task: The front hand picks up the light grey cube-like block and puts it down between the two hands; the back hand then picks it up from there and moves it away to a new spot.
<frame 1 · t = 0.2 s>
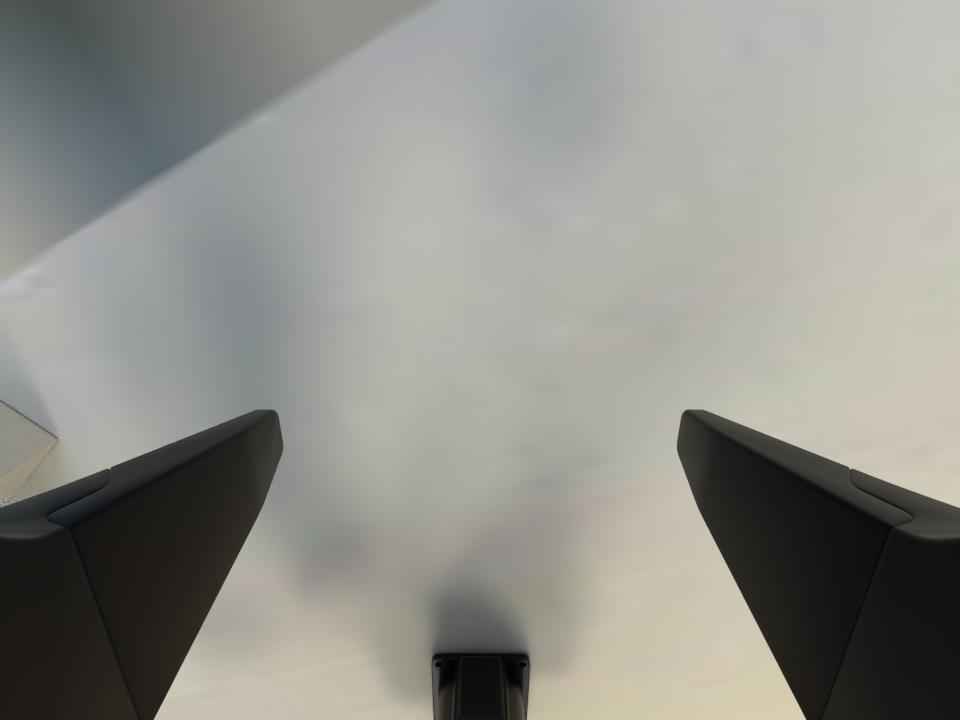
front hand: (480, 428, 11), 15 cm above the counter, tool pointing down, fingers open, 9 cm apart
light grey cube-like block: (0, 439, 28), on the counter
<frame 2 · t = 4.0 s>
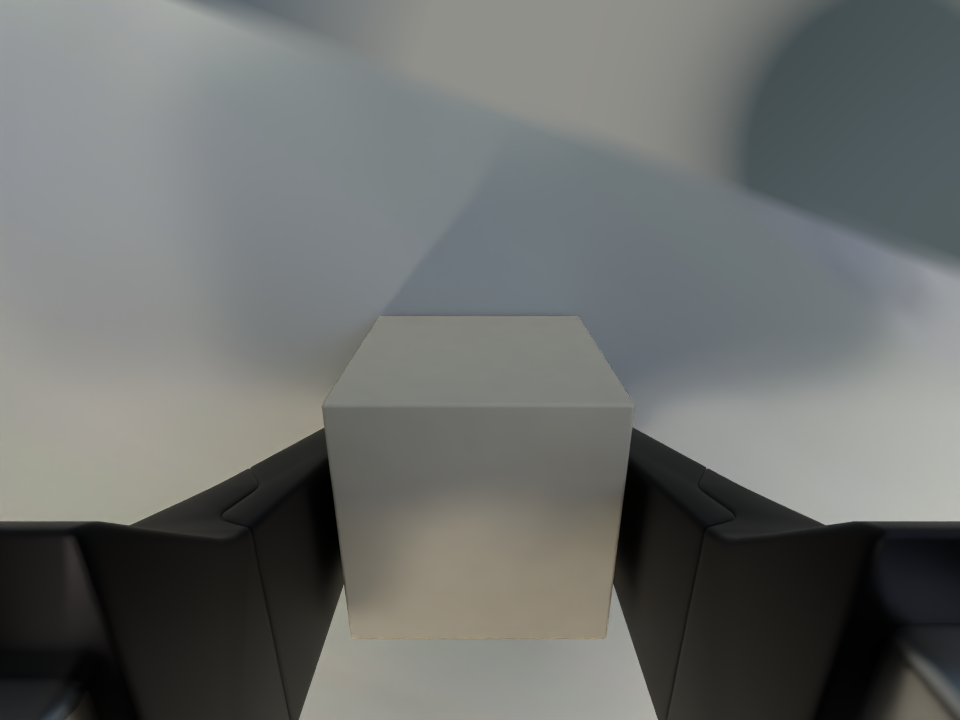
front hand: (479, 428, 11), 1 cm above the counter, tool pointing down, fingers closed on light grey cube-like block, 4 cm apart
light grey cube-like block: (478, 407, 12), on the counter, touching front hand
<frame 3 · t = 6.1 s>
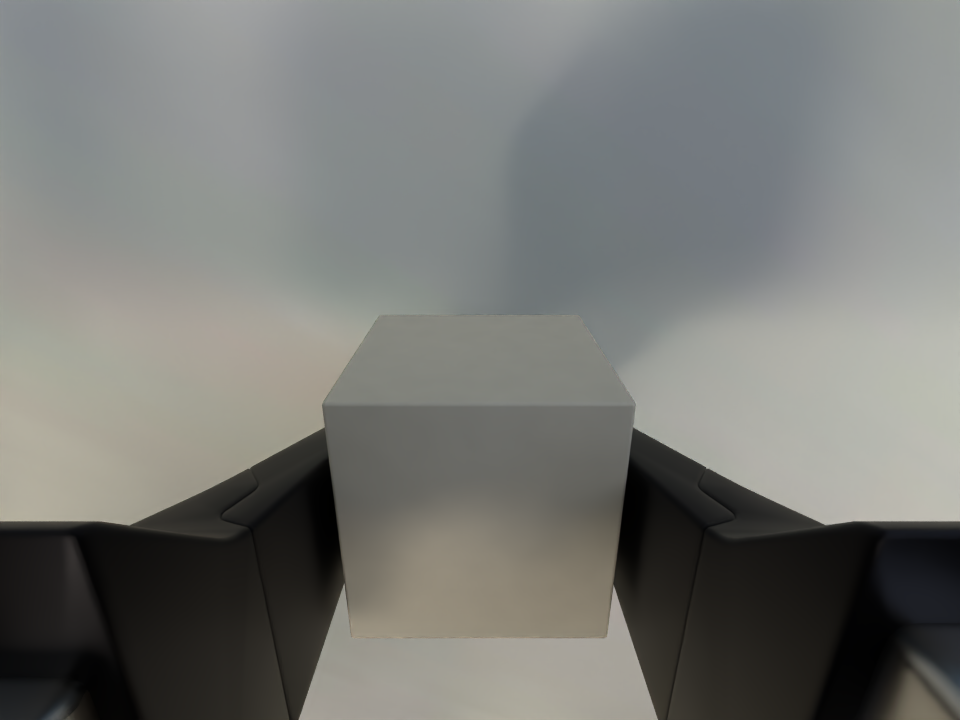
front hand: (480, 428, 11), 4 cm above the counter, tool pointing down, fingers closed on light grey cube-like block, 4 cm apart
light grey cube-like block: (479, 406, 12), point 3 cm above the counter, touching front hand
when the front hand's fingers open (2 cm above the counter, at t = 8.5 s): light grey cube-like block stays where it is, on the counter.
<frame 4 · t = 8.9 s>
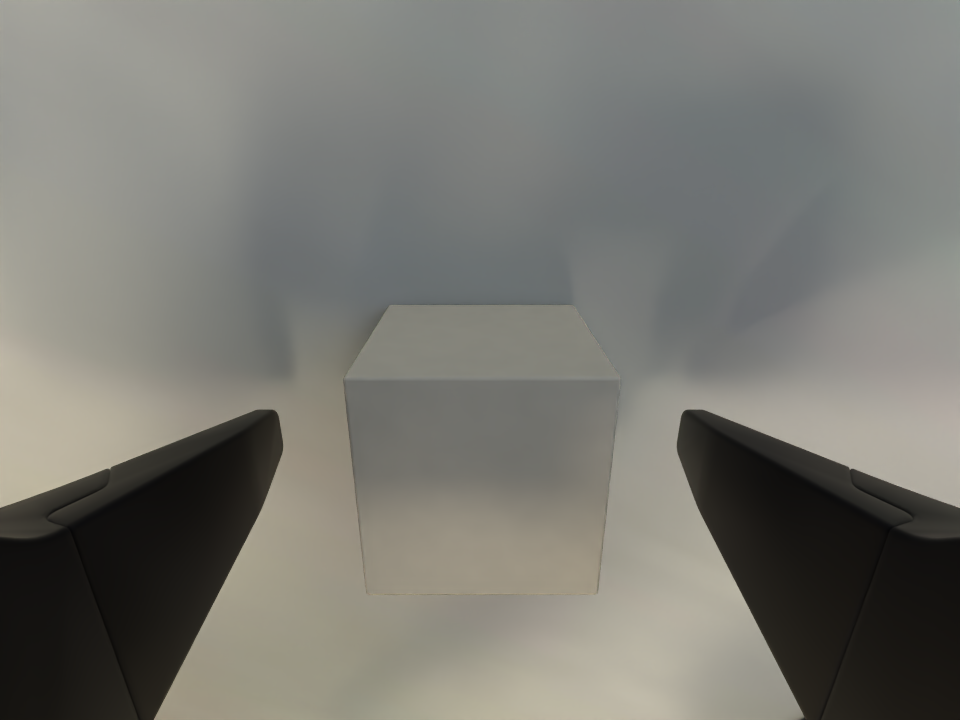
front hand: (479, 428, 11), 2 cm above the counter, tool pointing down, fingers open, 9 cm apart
light grey cube-like block: (481, 390, 13), on the counter
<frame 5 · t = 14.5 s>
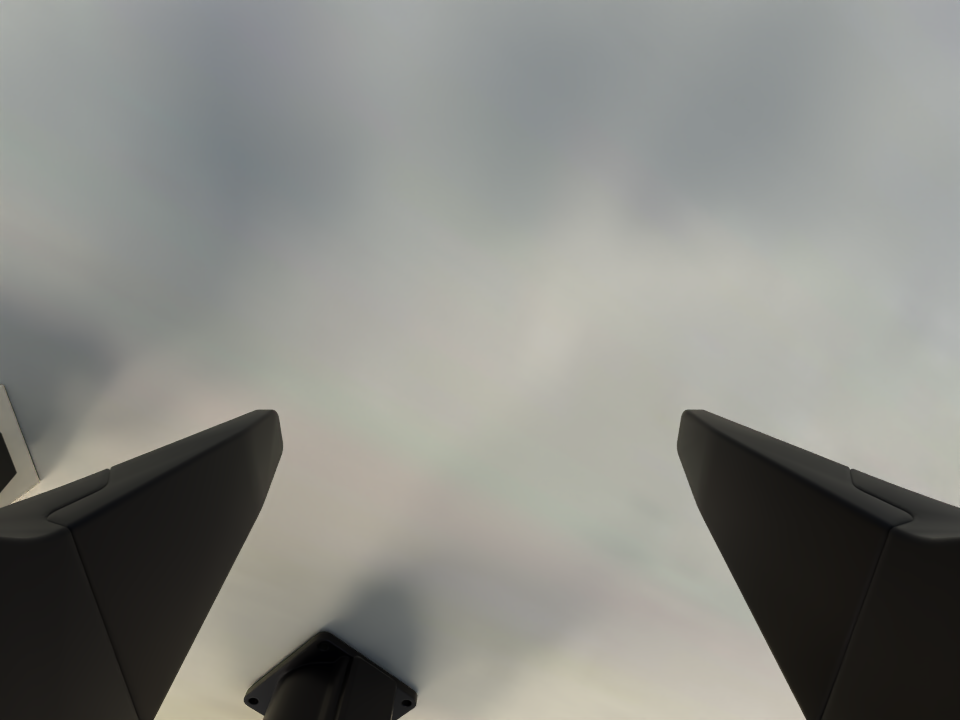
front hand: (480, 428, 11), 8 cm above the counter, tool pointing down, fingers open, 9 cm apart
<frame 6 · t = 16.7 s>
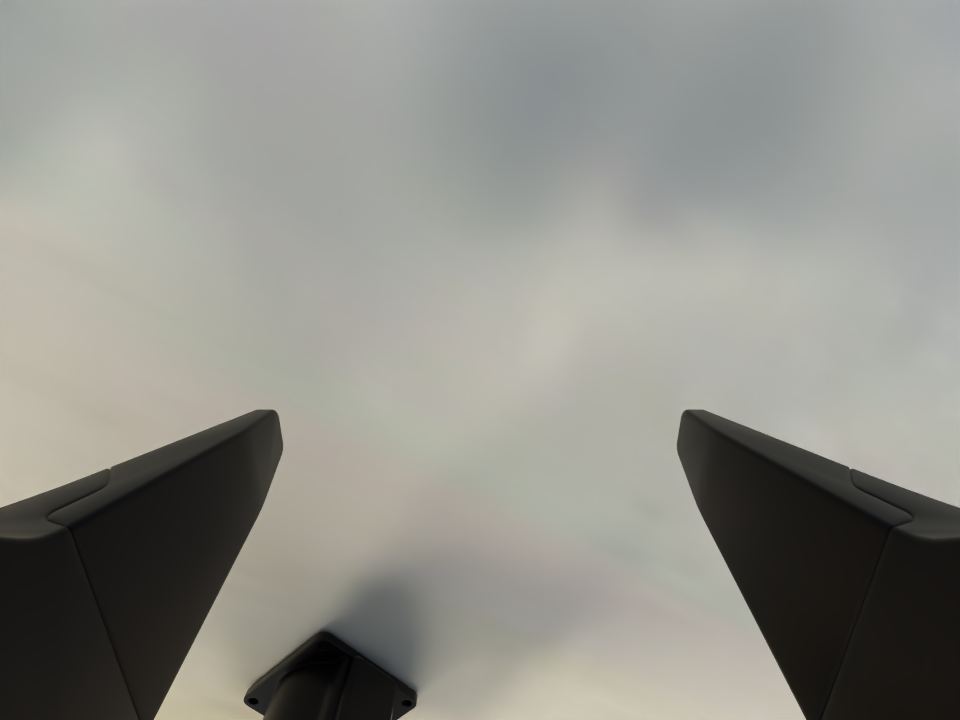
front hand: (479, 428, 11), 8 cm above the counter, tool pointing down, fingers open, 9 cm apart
when the back hand's fingers open (2 cm above the counter, at t = 19.4 s): light grey cube-like block stays where it is, on the counter.
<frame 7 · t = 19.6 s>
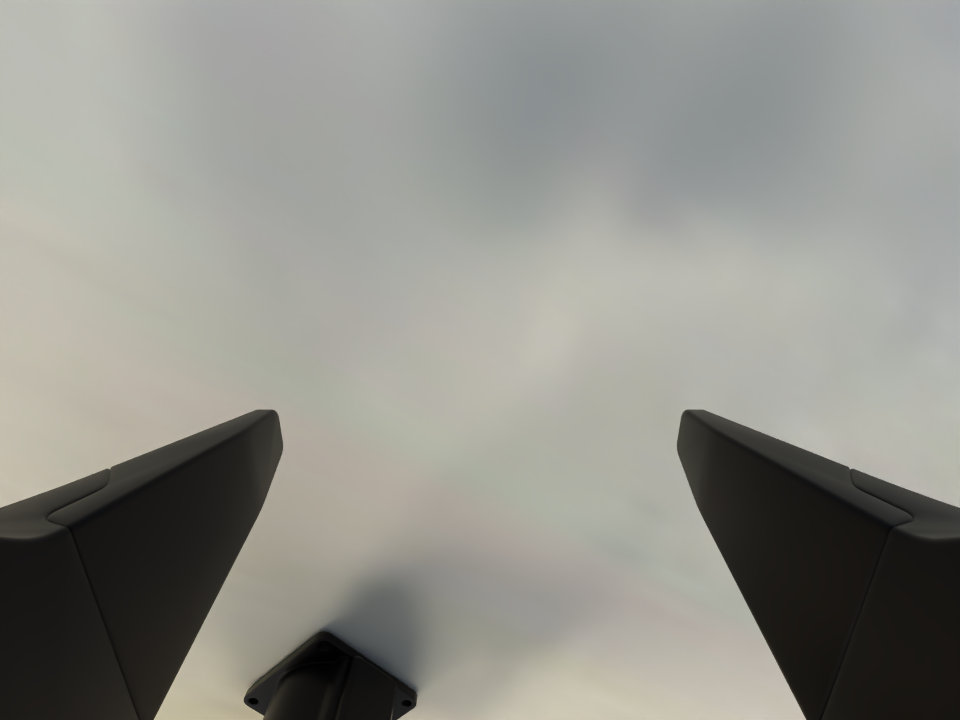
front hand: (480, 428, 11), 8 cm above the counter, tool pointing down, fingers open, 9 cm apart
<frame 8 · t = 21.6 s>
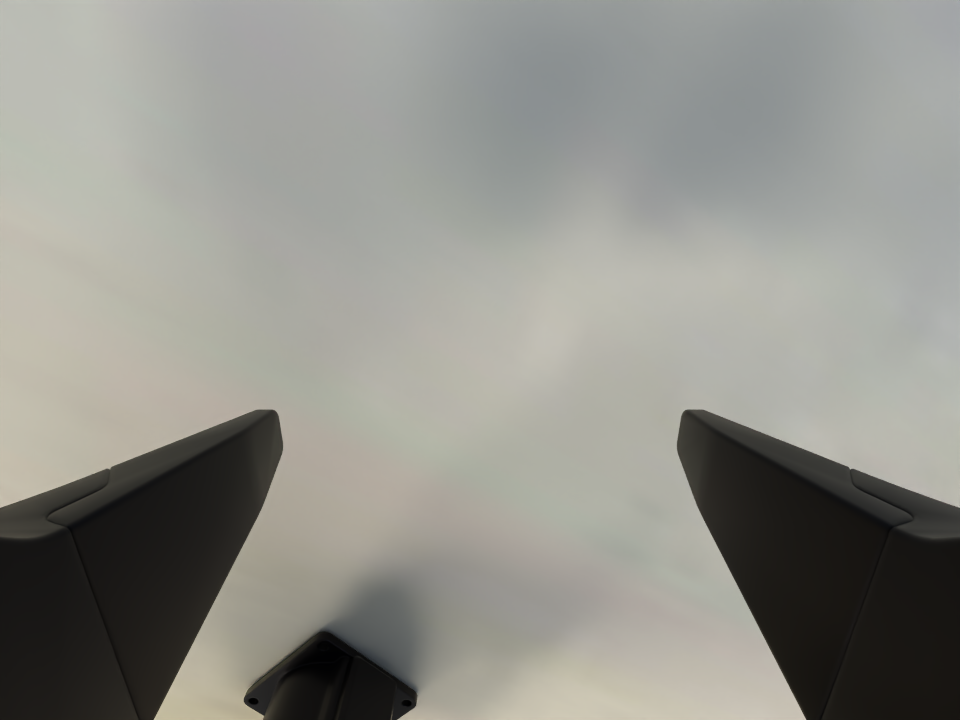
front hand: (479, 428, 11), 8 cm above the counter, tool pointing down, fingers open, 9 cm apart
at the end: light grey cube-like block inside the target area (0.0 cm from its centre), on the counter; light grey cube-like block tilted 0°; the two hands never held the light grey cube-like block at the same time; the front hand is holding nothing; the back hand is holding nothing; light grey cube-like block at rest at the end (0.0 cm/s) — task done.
